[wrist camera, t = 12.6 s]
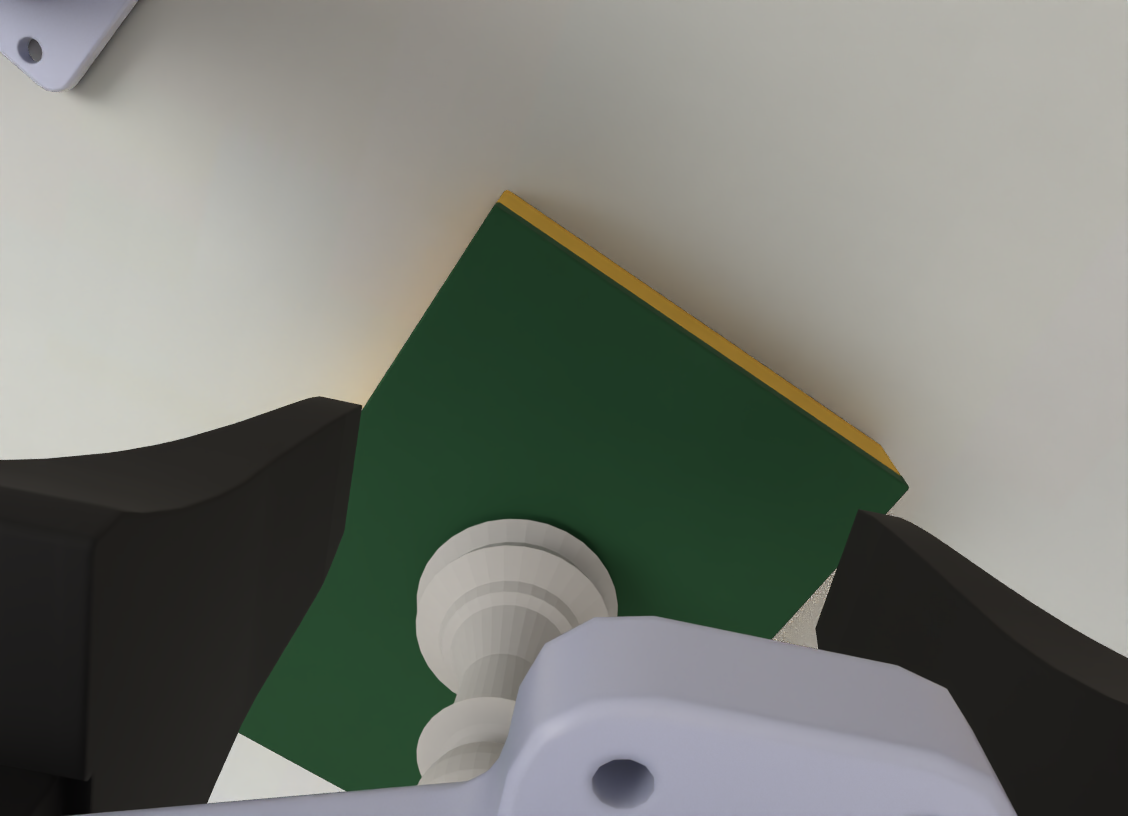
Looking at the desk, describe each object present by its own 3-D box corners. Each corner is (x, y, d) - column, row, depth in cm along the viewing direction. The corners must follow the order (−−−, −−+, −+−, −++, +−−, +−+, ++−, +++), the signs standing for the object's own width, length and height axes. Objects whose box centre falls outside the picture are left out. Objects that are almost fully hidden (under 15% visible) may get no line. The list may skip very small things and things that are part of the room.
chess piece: (623, 680, 24) (628, 979, 16) (431, 687, 24) (351, 983, 16) (612, 507, 22) (613, 750, 14) (407, 517, 22) (303, 760, 15)
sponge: (211, 644, 27) (175, 699, 24) (506, 188, 22) (494, 204, 20) (543, 829, 28) (537, 897, 26) (882, 445, 24) (910, 488, 21)
